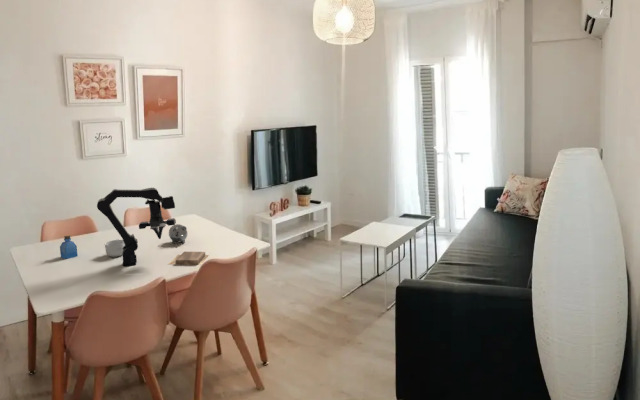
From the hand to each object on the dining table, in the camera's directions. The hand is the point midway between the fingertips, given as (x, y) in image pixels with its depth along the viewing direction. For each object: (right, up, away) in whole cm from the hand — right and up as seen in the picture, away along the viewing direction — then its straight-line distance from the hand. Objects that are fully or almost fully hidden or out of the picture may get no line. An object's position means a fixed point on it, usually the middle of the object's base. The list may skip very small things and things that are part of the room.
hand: (159, 238), depth 267 cm
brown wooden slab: (+10, -11, +3) cm, 15 cm away
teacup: (-29, -10, +14) cm, 34 cm away
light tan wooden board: (+15, -12, +4) cm, 20 cm away
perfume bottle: (-55, -11, +10) cm, 57 cm away
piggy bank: (0, -6, +38) cm, 38 cm away
